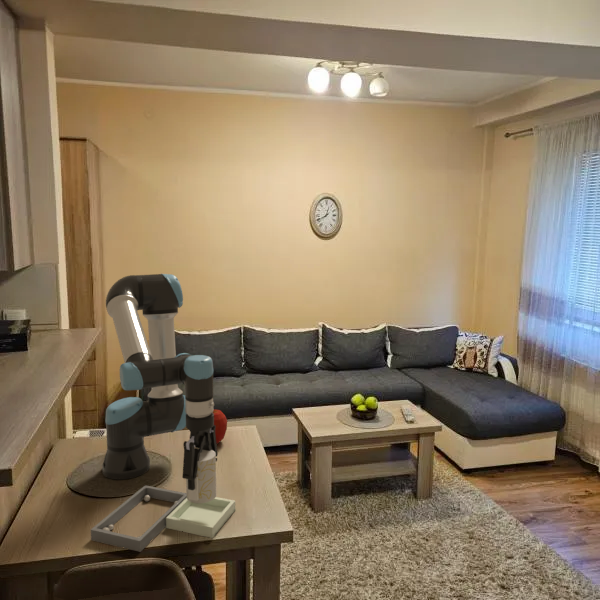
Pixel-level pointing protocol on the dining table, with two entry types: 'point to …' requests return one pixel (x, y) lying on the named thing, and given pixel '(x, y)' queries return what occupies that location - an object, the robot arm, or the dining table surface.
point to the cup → (205, 477)
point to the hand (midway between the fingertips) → (201, 491)
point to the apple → (219, 425)
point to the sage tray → (201, 516)
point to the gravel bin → (103, 528)
